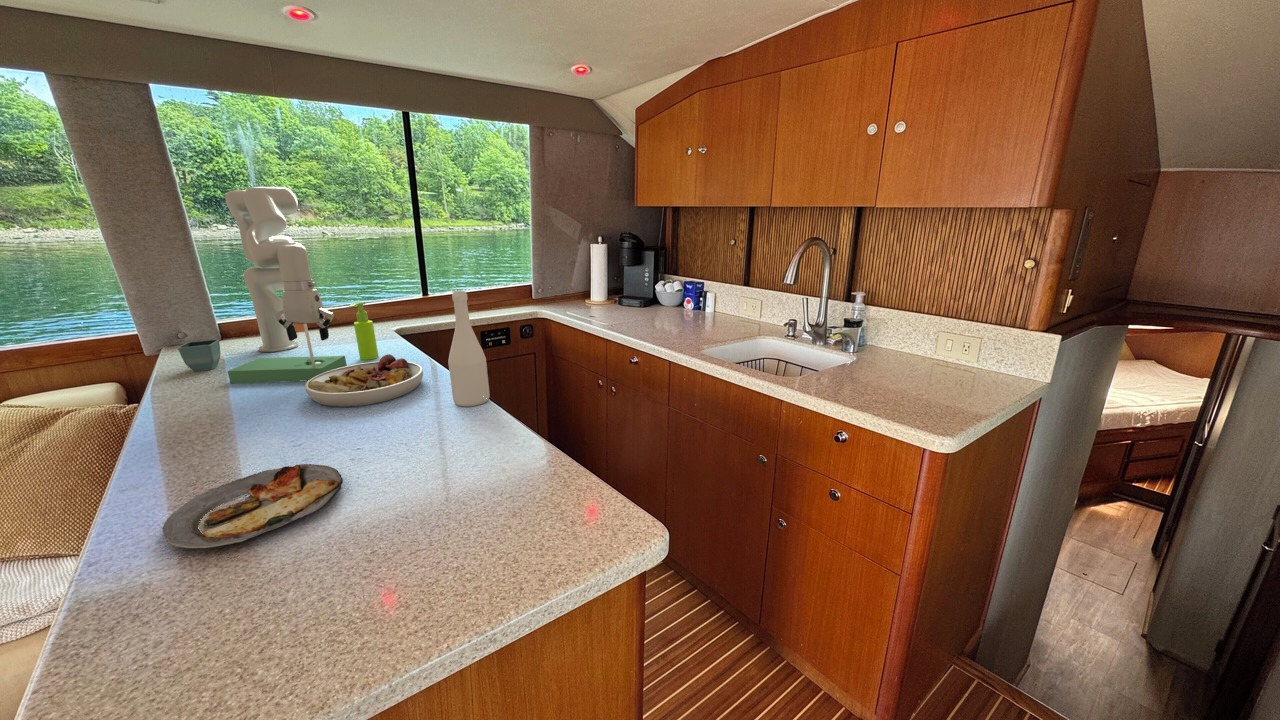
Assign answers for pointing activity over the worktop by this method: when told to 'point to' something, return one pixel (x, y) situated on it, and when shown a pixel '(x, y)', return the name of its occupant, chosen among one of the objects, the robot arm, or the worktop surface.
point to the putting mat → (286, 366)
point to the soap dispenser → (365, 334)
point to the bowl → (365, 382)
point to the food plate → (253, 505)
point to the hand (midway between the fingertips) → (309, 339)
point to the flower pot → (201, 354)
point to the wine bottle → (466, 359)
